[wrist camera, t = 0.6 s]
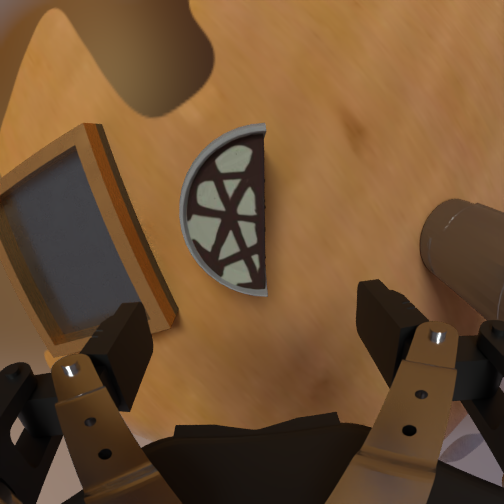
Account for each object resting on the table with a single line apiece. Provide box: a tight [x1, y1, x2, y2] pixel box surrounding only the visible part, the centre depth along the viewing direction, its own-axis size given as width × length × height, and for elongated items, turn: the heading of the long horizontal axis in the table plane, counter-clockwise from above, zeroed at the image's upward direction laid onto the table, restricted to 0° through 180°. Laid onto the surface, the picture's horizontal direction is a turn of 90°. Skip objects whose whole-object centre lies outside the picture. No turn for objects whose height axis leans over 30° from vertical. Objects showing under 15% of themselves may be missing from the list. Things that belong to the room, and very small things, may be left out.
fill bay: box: [0, 123, 178, 358], centre depth 30 cm, size 17×21×4 cm
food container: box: [180, 123, 268, 297], centre depth 26 cm, size 12×6×10 cm, turn 1°
